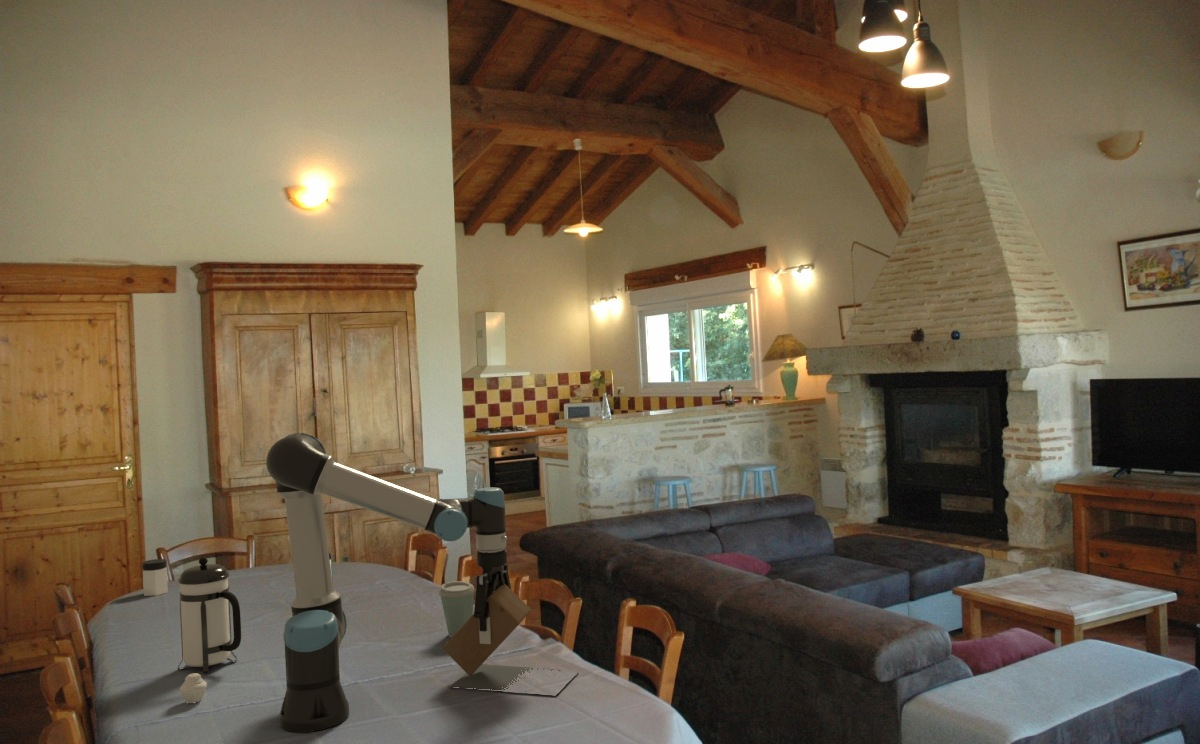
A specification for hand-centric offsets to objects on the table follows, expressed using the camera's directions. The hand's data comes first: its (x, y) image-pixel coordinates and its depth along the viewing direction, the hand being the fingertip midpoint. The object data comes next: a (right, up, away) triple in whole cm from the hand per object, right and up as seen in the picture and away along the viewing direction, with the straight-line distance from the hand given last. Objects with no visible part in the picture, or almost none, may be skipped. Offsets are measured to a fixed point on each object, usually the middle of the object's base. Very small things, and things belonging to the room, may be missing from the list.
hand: (495, 636), depth 222 cm
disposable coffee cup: (-15, -11, +39) cm, 43 cm away
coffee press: (-80, -14, +20) cm, 84 cm away
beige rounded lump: (-73, -14, -7) cm, 75 cm away
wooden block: (-9, -6, +3) cm, 11 cm away
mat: (+5, -11, -1) cm, 12 cm away
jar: (-140, -16, +106) cm, 176 cm away
